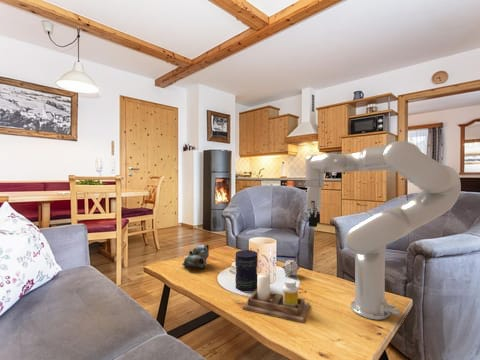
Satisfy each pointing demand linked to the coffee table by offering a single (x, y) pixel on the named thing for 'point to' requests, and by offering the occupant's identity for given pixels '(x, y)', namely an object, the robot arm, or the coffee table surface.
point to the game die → (291, 267)
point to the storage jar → (246, 270)
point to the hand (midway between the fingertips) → (314, 224)
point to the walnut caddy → (277, 307)
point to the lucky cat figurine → (197, 257)
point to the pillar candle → (263, 287)
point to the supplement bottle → (290, 294)
